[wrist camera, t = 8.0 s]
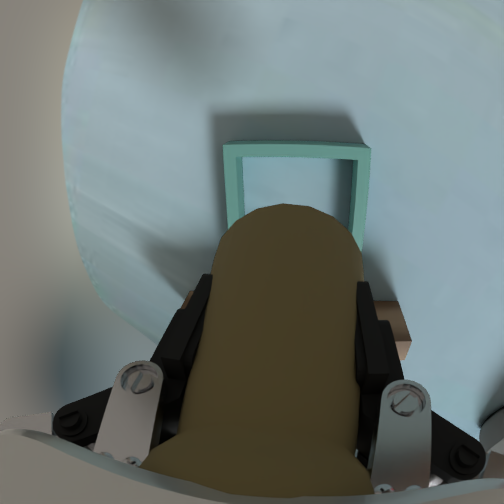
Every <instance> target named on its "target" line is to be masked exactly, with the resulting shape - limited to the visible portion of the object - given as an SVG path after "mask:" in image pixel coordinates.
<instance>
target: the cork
mask: <svg viewBox="0 0 504 504" xmlns="http://www.w3.org/2000/svg"><path fill="white" fill-rule="evenodd" d="M211 274H213V279H212V286H211V292H210V295H209V298H208V301H207V304H206V311H205V318H204V325H203V331H202V335H201V338H200V342H199V345H198V349H197V352H196V355H195V359H194V362H193V366H192V369H191V372H190V375H189V377H188V380H187V385H186V389H185V393H184V398H183V403H182V408H181V413H180V418H179V423H178V429H177V434H176V436H174V437H172V438H171V439H169V440H167V441H165V442H164V443H162V444H160V445H159V446H157V447H155V448H153V449H152V450H151V451H150V453H149V455H148V456H147V457H146V458H145V460H144V461H143V462H142V463H141V465H140V466H139V467H138V468H141V469H145V470H148V471H151V472H155V473H158V474H162V475H166V476H169V477H173V478H177V479H181V480H186V481H190V482H193V483H196V484H199V485H202V486H205V487H208V488H212V489H215V490H218V491H221V492H225V493H228V494H234V495H243V496H255V497H270V498H295V497H302V496H358V495H372V494H375V493H374V489H373V486H372V484H371V481H370V473H369V471H368V470H367V469H366V468H365V467H364V466H363V464H362V463H361V462H360V461H359V460H358V459H357V458H356V457H355V452H356V444H357V436H358V426H359V408H360V386H359V385H358V383H357V382H356V362H355V330H356V319H357V302H356V290H357V282H358V281H364V272H363V262H362V253H361V251H360V249H359V247H358V245H357V243H356V241H355V239H354V237H353V236H352V234H351V232H349V231H348V230H347V229H346V228H345V227H344V226H343V225H342V224H341V223H340V222H338V221H337V220H336V219H335V218H334V217H333V216H330V215H328V214H326V213H324V212H321V211H319V210H317V209H314V208H312V207H310V206H301V205H292V204H278V205H273V206H268V207H263V208H258V209H256V210H254V211H252V212H250V213H249V214H247V215H245V216H243V217H242V218H240V219H238V220H236V221H235V222H234V224H233V225H232V226H231V227H230V228H229V229H228V230H227V232H226V233H225V234H224V235H223V236H222V238H221V240H220V243H219V246H218V249H217V252H216V254H215V257H214V262H213V266H212V270H211Z"/></svg>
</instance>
